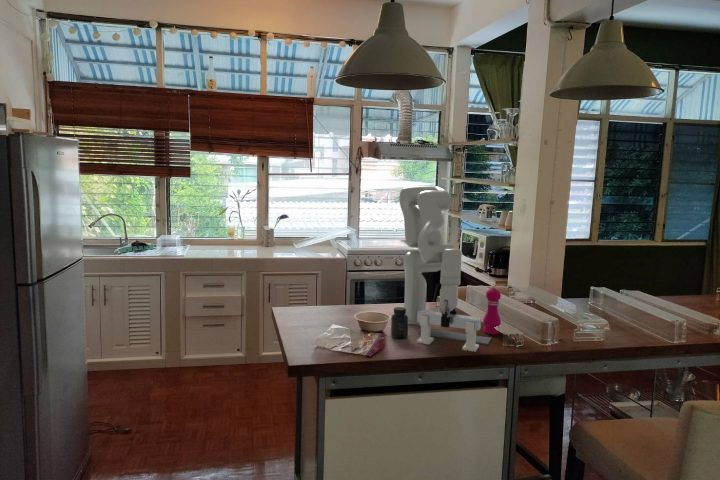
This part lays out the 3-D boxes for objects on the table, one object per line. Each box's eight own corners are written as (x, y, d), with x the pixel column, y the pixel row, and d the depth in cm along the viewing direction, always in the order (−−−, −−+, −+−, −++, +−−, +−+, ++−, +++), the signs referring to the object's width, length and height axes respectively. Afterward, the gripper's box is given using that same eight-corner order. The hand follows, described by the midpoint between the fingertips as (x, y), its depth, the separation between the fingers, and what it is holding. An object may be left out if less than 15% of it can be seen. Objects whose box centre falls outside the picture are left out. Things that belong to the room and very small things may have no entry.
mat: (418, 334, 223) (418, 333, 223) (424, 329, 231) (424, 328, 231) (487, 345, 212) (487, 343, 212) (491, 339, 219) (491, 337, 219)
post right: (461, 350, 206) (463, 321, 204) (466, 344, 212) (467, 317, 210) (475, 352, 204) (476, 323, 202) (479, 346, 210) (480, 319, 208)
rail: (417, 322, 213) (417, 312, 213) (420, 319, 217) (420, 309, 216) (478, 330, 204) (478, 320, 203) (480, 327, 207) (481, 317, 207)
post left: (416, 342, 213) (417, 315, 212) (422, 338, 219) (422, 311, 218) (428, 344, 211) (429, 317, 209) (433, 339, 217) (435, 313, 216)
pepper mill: (500, 335, 225) (503, 287, 222) (482, 333, 226) (485, 286, 224) (499, 330, 232) (502, 284, 229) (482, 328, 233) (484, 283, 231)
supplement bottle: (409, 335, 222) (410, 307, 220) (405, 340, 215) (406, 311, 214) (393, 333, 224) (394, 305, 222) (388, 338, 217) (389, 309, 216)
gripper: (446, 275, 217) (445, 316, 220) (434, 283, 202) (432, 328, 204) (465, 277, 214) (463, 319, 217) (454, 285, 199) (452, 331, 201)
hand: (448, 323), depth 210 cm, fingers open, 9 cm apart
